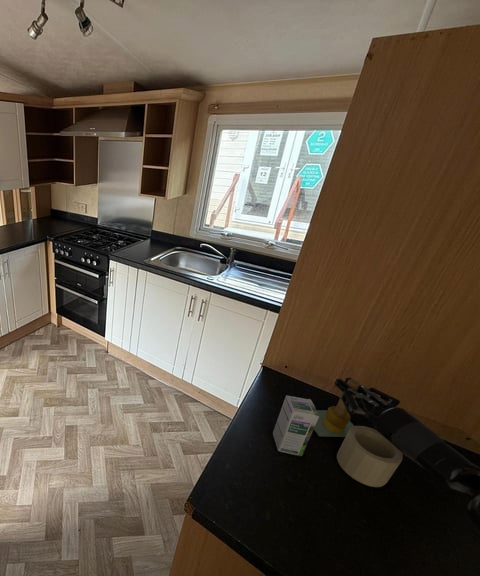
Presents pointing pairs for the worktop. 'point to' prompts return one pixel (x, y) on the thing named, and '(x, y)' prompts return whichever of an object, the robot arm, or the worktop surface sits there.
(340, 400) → the sponge brush
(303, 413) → the syrup box
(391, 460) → the cream tape roll
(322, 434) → the grey hexagonal plate
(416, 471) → the worktop surface
